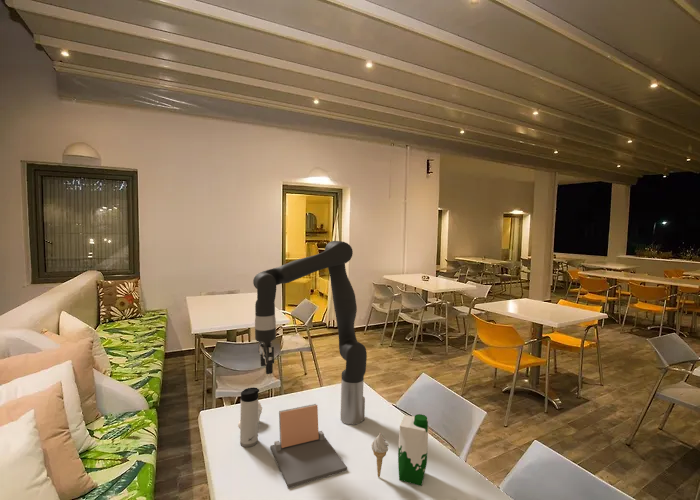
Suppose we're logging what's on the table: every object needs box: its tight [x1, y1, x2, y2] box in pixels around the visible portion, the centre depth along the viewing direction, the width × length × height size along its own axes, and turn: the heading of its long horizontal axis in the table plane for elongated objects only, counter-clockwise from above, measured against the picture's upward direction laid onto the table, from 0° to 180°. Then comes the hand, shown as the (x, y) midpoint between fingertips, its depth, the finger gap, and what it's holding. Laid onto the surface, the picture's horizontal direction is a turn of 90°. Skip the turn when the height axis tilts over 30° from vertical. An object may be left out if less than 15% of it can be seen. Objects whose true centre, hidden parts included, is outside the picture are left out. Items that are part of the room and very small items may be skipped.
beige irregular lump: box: [237, 401, 263, 430], centre depth 146 cm, size 6×8×12 cm
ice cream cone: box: [370, 431, 389, 478], centre depth 117 cm, size 6×6×15 cm
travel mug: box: [239, 387, 260, 448], centre depth 134 cm, size 6×7×20 cm
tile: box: [278, 403, 319, 448], centre depth 133 cm, size 14×2×12 cm, turn 116°
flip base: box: [269, 430, 348, 489], centre depth 125 cm, size 20×22×3 cm
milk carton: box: [397, 413, 429, 487], centre depth 117 cm, size 9×9×20 cm
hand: (266, 369), depth 135 cm, fingers open, 8 cm apart
